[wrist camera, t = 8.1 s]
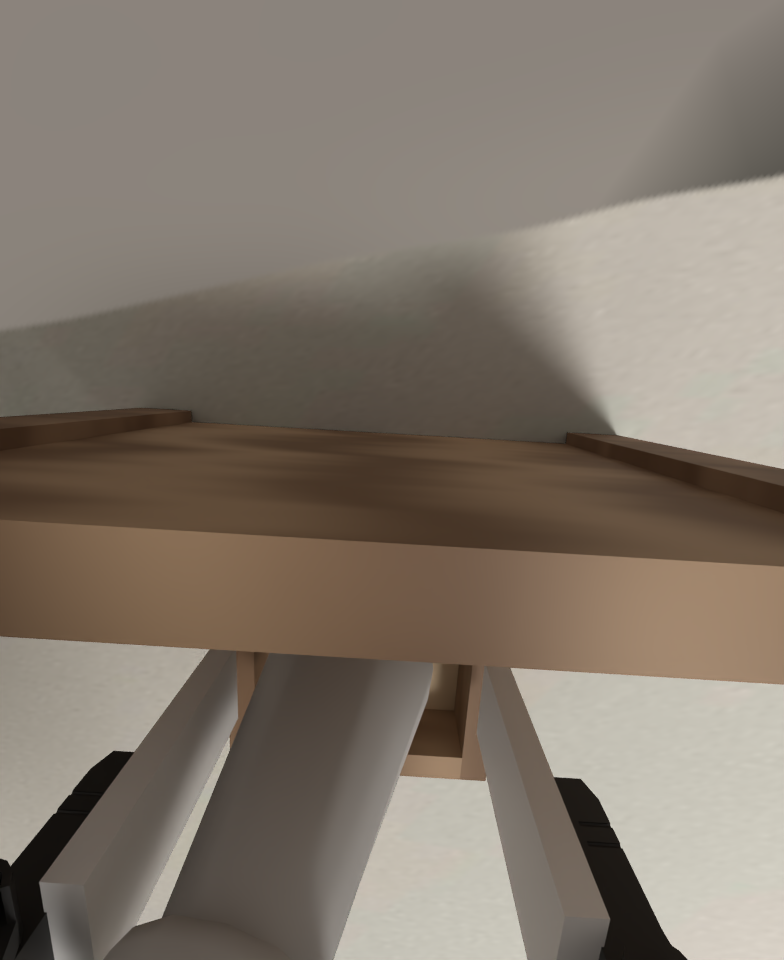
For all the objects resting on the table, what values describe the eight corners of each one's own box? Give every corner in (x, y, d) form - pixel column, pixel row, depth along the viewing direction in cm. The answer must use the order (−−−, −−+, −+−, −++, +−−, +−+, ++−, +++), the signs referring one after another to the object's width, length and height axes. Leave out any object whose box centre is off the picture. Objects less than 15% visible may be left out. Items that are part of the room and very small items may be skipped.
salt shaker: (273, 616, 18) (-180, 1180, 5) (365, 535, 16) (38, 1057, 4) (367, 711, 18) (155, 1457, 5) (466, 639, 16) (487, 1454, 4)
